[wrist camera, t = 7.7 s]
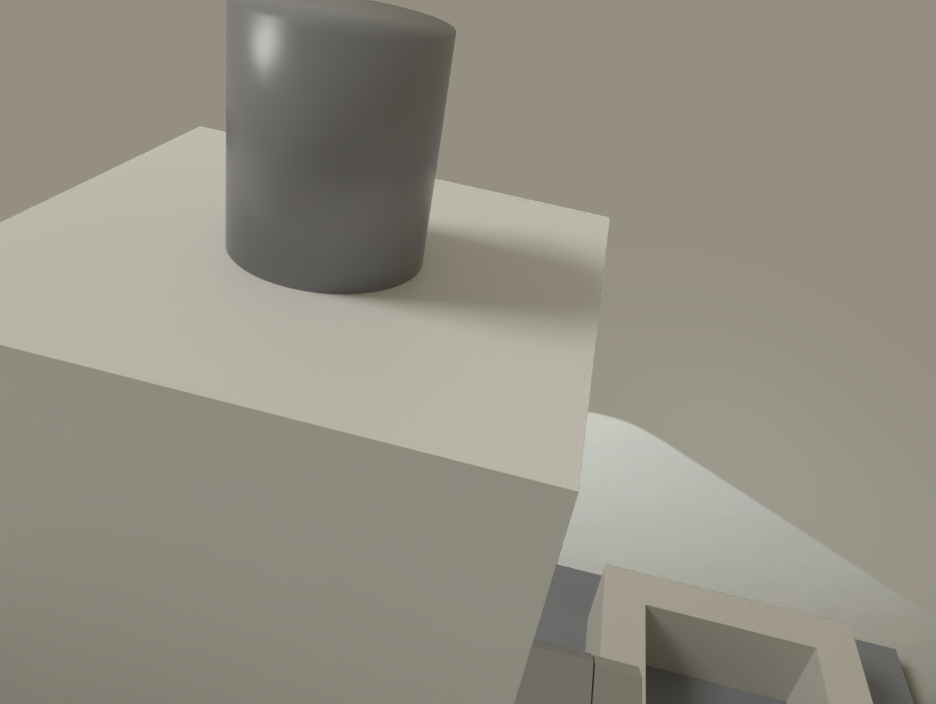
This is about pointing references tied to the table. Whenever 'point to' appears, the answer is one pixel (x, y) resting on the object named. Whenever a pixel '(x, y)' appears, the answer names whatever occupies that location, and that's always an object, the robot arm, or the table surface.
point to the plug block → (291, 395)
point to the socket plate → (715, 643)
